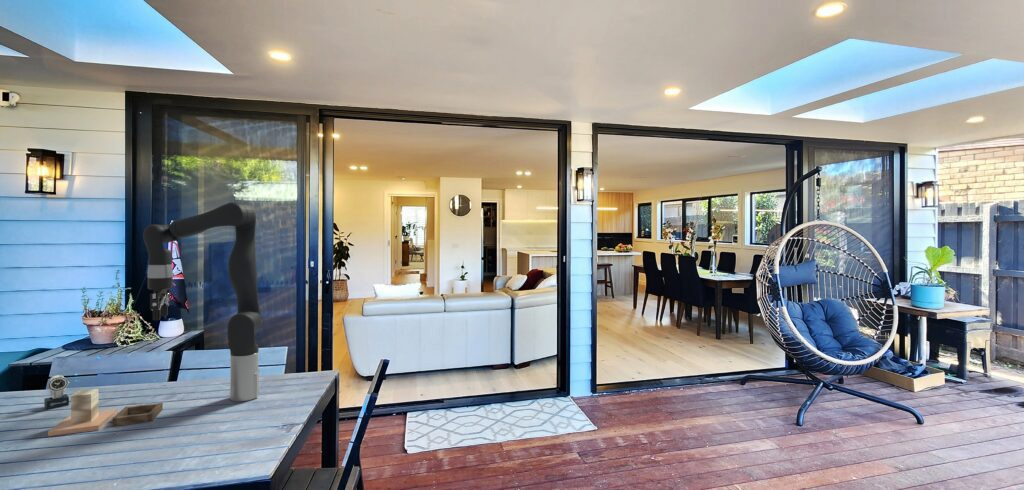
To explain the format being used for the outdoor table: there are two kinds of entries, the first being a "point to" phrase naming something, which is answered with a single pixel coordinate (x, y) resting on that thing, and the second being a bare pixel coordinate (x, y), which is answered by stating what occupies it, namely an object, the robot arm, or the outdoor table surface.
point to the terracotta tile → (82, 424)
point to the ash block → (84, 406)
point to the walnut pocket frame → (124, 419)
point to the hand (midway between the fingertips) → (160, 318)
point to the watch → (57, 393)
